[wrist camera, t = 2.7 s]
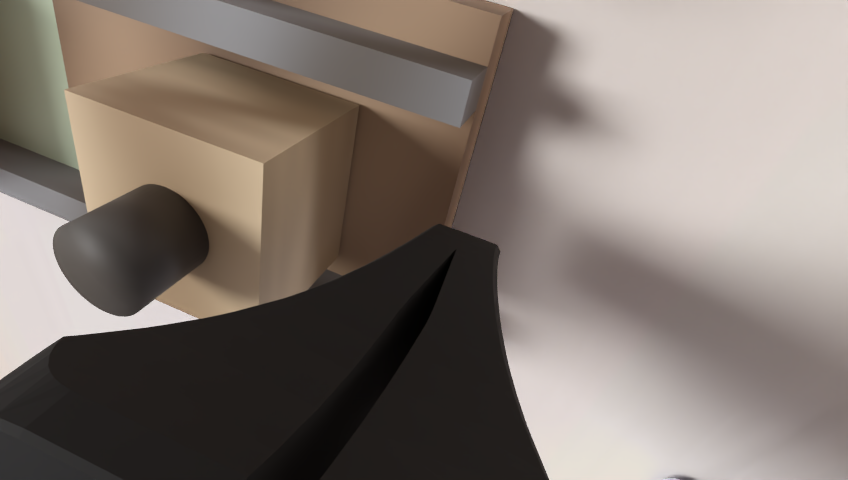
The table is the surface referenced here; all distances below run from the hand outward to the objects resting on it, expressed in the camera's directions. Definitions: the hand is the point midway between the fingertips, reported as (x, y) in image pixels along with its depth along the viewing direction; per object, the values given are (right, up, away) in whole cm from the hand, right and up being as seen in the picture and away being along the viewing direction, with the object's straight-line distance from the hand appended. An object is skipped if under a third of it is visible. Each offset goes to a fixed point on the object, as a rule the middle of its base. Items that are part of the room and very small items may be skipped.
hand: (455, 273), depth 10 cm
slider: (-4, +3, +2) cm, 6 cm away
